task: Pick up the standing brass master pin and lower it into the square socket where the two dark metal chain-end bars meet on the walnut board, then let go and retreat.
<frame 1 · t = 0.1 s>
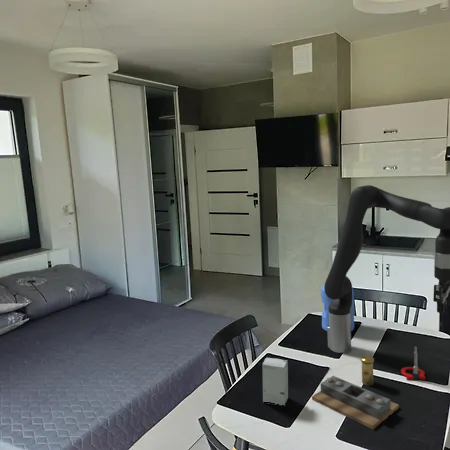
hand: (445, 309, 149), 29 cm above the table, fingers open, 8 cm apart
tow hook: (412, 375, 162), on the table
skincare box: (276, 400, 152), on the table
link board: (354, 403, 146), on the table
master pin: (367, 382, 159), on the table
water jug: (338, 328, 210), on the table
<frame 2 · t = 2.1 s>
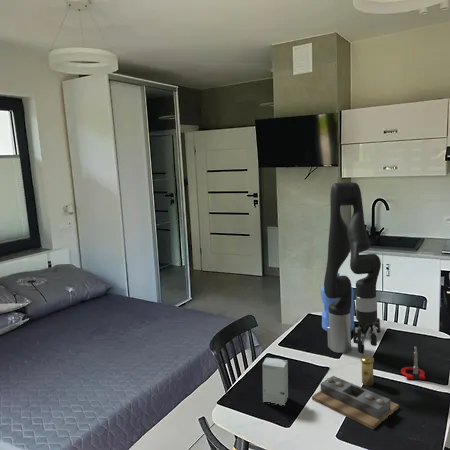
hand: (367, 349, 156), 14 cm above the table, fingers open, 8 cm apart
nothing on the table moved.
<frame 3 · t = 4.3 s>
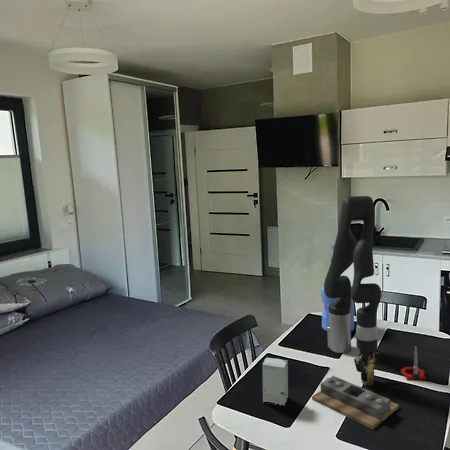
hand: (367, 378, 158), 2 cm above the table, fingers closed on master pin, 4 cm apart
master pin: (367, 382, 159), on the table, touching gripper
everything else where it was.
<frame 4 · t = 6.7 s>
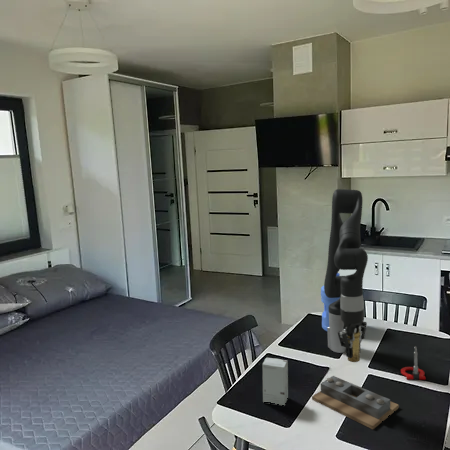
hand: (353, 354, 143), 18 cm above the table, fingers closed on master pin, 4 cm apart
master pin: (353, 359, 144), point 16 cm above the table, touching gripper
everything else where it was.
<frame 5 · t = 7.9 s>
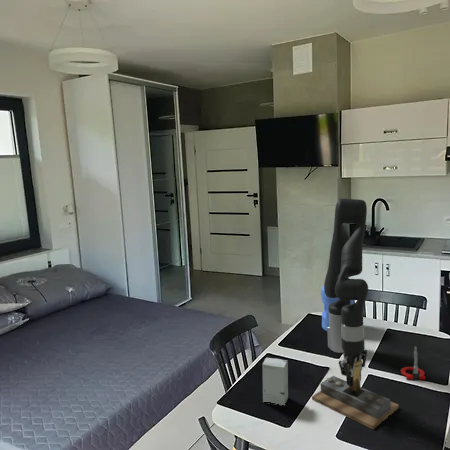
hand: (353, 382, 145), 8 cm above the table, fingers closed on master pin, 4 cm apart
master pin: (354, 387, 145), point 6 cm above the table, touching gripper
everything else where it was.
when the fingers open (5 cm above the table, at t = 9.1 s): master pin drops 2 cm, resting on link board.
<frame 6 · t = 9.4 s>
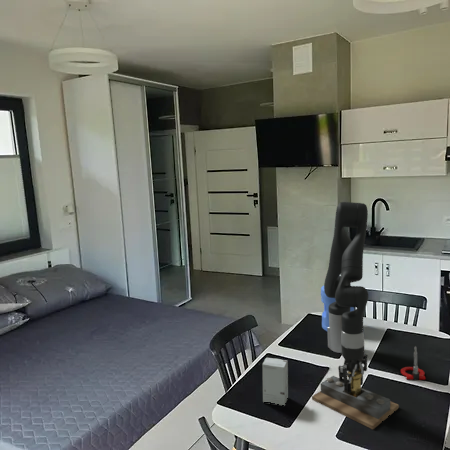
hand: (353, 388, 145), 6 cm above the table, fingers open, 6 cm apart
master pin: (355, 399, 146), point 1 cm above the table, touching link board
everything else where it was.
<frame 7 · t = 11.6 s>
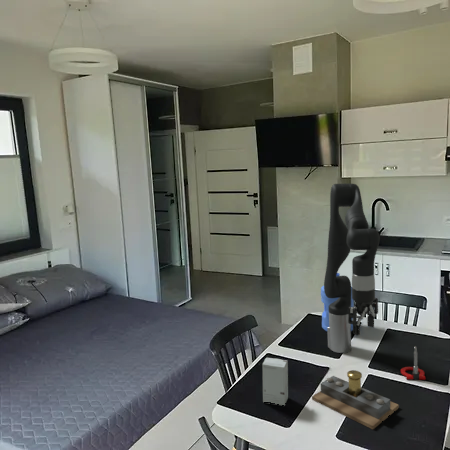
hand: (363, 330, 146), 25 cm above the table, fingers open, 8 cm apart
nothing on the table moved.
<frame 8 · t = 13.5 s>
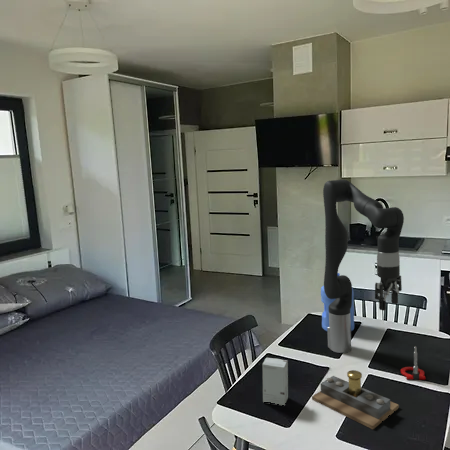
hand: (388, 306, 152), 30 cm above the table, fingers open, 8 cm apart
nothing on the table moved.
at the end: master pin 0.5 cm off-centre on the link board, point 1.2 cm above the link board's base; master pin tilted 0°; the gripper is holding nothing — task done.
